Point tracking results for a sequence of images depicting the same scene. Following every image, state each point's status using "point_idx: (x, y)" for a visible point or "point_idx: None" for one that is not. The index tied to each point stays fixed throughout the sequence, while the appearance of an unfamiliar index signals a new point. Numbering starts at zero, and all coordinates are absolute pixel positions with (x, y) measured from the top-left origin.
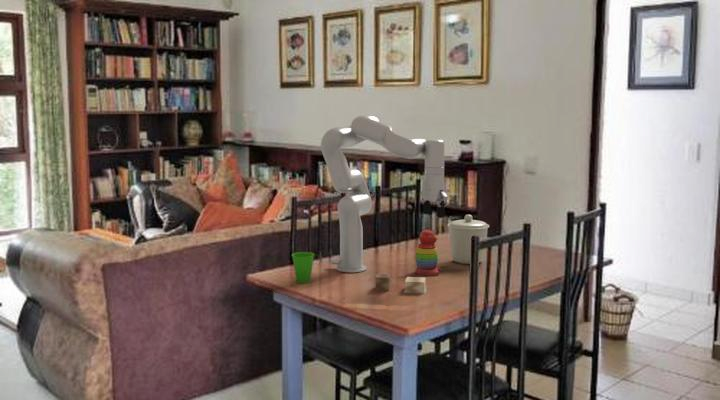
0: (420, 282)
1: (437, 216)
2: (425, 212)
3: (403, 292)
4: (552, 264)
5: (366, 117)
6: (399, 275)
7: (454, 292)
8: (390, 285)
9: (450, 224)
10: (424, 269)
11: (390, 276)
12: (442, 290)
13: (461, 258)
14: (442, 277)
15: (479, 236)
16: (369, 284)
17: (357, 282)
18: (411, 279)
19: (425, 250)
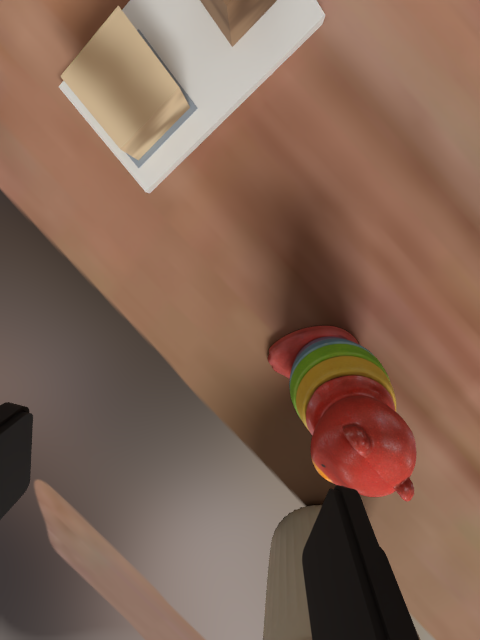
0: (71, 63)
1: (7, 404)
2: (330, 507)
3: (138, 29)
4: (146, 625)
5: None
6: (367, 259)
7: (79, 234)
8: (227, 34)
9: None
10: (311, 340)
11: (222, 4)
12: (119, 222)
13: (308, 515)
14: (239, 348)
15: (265, 633)
16: (364, 52)
17: (428, 29)
18: (129, 65)
19: (323, 372)
